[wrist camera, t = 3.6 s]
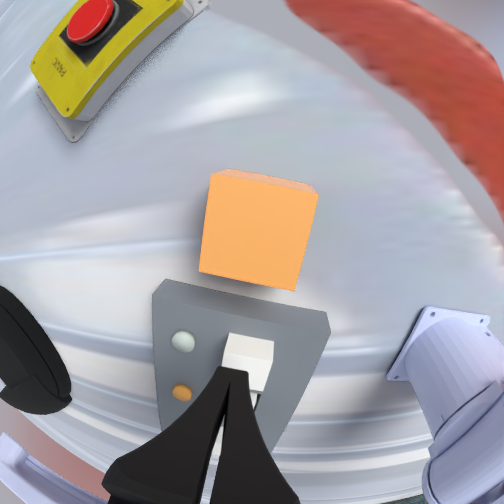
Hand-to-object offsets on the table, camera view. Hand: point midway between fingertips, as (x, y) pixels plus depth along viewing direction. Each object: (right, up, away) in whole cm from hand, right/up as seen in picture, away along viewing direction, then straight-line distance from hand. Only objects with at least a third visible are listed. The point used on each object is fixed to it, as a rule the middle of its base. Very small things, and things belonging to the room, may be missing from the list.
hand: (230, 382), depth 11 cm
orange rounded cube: (+2, +8, +6) cm, 10 cm away
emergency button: (-10, +22, +3) cm, 24 cm away
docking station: (-41, -12, +19) cm, 47 cm away
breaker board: (-1, -6, +11) cm, 12 cm away
